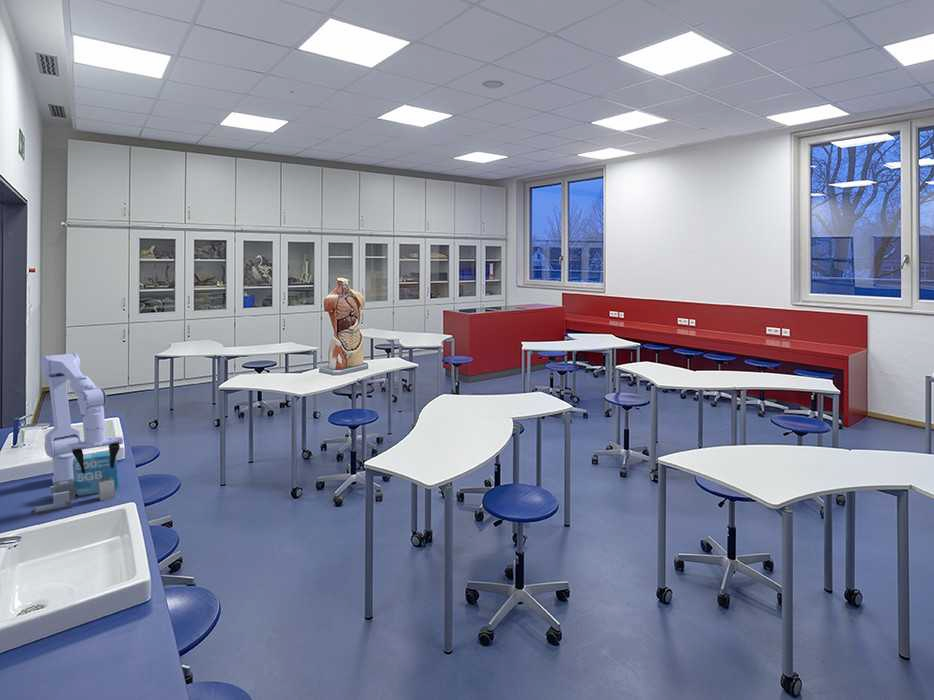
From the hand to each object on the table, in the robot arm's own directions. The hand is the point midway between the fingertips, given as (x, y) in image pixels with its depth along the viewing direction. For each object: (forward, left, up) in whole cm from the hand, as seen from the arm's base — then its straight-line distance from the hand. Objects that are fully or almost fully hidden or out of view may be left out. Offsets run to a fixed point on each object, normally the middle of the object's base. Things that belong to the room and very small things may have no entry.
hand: (97, 469), depth 185 cm
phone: (0, -12, -10) cm, 16 cm away
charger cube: (-8, -8, -10) cm, 15 cm away
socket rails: (-9, -10, -9) cm, 16 cm away
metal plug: (0, +2, -10) cm, 10 cm away
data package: (-9, 0, -10) cm, 13 cm away
